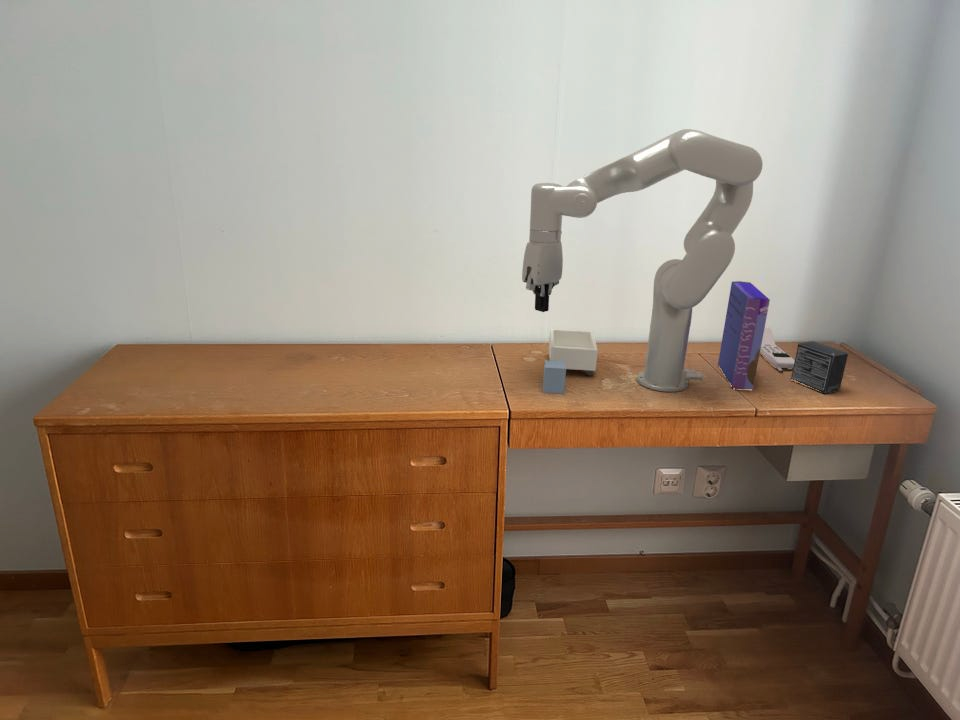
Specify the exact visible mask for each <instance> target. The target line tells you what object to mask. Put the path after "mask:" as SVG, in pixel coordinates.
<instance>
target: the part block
mask: <svg viewBox="0 0 960 720" xmlns="http://www.w3.org/2000/svg"><path fill="white" fill-rule="evenodd" d="M543 367H544V369H543V378H542V379H543V381H542V392H543V393H544V394H545V393H546V394H561V395H565V386H566V374H567V369H566V362H565V361H550V360H546V359H545V360H544V366H543Z"/></svg>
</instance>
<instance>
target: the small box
mask: <svg viewBox="0 0 960 720" xmlns="http://www.w3.org/2000/svg"><path fill="white" fill-rule="evenodd" d="M848 357H849V352H846V351H844V350H840V349H837V348H835V347H831V346H829V345H826V344H822V343H818V342H816V341H814V340H813V341H808V342H807V341H806V342H799V343H797V348H796V353H795V358H794V360H795V362H794V367H793V369H792V373H791V376H790V380H791V379H793V380H796V381H798V382H800V383H803V384H805V385H807V386H810V387H812V388H814V389H817V390H819V391H821V392H823V393H826V394H825V395H827V393H828V394H831V393H830V392H832V393H835V392H834V391H837V392H839V391H838V390H840V389H841V386H842V381H843V378H844V373H845V369H846V364H847V362H848ZM840 391H841V390H840ZM823 393H822V394H823Z"/></svg>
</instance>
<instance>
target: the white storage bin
mask: <svg viewBox="0 0 960 720" xmlns="http://www.w3.org/2000/svg"><path fill="white" fill-rule="evenodd" d="M598 351H599V349H598V346H597V342H596V338H595V335H594V331H588V330H575V329H574V330H572V329H571V330H570V329H555V328H550V329H549V342H548V356H549V361H565V362H566V370H576V371H578V370H580V371H583V372H584V374H585V375H586V376H592V375H593V374H594V372H596V370H597V362H598V360H597V359H598Z"/></svg>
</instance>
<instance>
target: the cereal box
mask: <svg viewBox="0 0 960 720" xmlns="http://www.w3.org/2000/svg"><path fill="white" fill-rule="evenodd" d="M770 302H771V299H770V298H769V297H767V295H765V294H764V293H763V292H762V291H761V290H760V289H758V288H757V287H756V286H755V285H754V284H753V283H752V282H750V281H742V280H737V281H731V284H730V291H729V297H728V301H727V308H726V314H725V320H724V326H723V332H722V333H723V334H722V338H721V343H720V344H721V345H720V350H719V355H718V363H717V364H718V365H719V366H720V368H721V369H722V371H723V373H724V374H725V376H726V378H727V379H728V381H729V382H730V383H731V385H732V387H733V388H735V389H753V390H754V386H755V382H756V381H755V380H756V374H757V370H758V364H759V360H760V356H761V355H760V349H761V344H762V339H763V333H764V328H765V327H766V323H767V317H768V312H769V306H770ZM718 365H717V366H718ZM723 373H722V374H723ZM726 378H725V379H726ZM728 381H727V382H728ZM732 387H731V388H732Z"/></svg>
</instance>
